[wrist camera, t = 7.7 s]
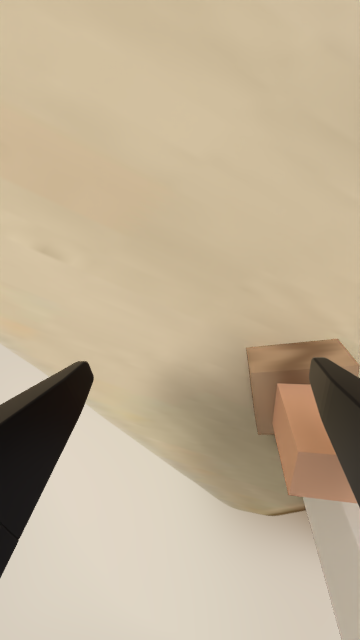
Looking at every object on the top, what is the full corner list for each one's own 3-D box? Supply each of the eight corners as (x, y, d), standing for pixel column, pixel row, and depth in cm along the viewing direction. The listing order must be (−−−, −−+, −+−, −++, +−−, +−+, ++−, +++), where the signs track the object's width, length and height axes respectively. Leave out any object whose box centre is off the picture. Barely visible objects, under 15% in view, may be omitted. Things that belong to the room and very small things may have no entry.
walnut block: (336, 336, 21) (359, 365, 17) (330, 399, 24) (349, 433, 21) (246, 346, 23) (250, 373, 19) (253, 402, 26) (258, 434, 23)
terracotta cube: (342, 385, 18) (391, 459, 13) (330, 427, 21) (367, 504, 15) (277, 383, 19) (298, 451, 14) (272, 423, 22) (288, 495, 16)
